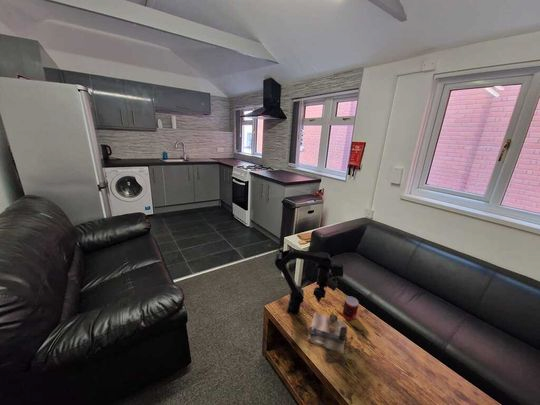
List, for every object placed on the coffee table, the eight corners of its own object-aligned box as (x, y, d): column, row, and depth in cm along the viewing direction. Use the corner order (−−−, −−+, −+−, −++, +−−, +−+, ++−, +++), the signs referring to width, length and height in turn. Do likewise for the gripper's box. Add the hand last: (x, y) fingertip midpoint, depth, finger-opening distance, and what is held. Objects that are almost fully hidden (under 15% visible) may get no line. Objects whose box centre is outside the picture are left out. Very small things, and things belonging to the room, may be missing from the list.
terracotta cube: (328, 330, 118) (329, 327, 117) (329, 327, 120) (329, 324, 119) (334, 332, 117) (334, 329, 116) (334, 329, 119) (335, 326, 118)
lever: (308, 334, 115) (310, 322, 113) (309, 328, 118) (310, 317, 116) (344, 345, 110) (346, 333, 108) (344, 339, 113) (346, 327, 111)
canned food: (353, 311, 135) (356, 296, 131) (357, 321, 127) (360, 306, 124) (341, 309, 135) (343, 295, 132) (343, 320, 128) (346, 305, 124)
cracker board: (307, 340, 114) (308, 333, 112) (314, 314, 131) (315, 308, 129) (343, 354, 108) (344, 347, 106) (345, 324, 125) (346, 318, 123)
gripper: (336, 288, 113) (331, 312, 117) (339, 269, 129) (335, 290, 134) (314, 282, 116) (311, 305, 121) (320, 264, 133) (317, 285, 138)
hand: (319, 296), depth 128 cm, fingers open, 9 cm apart
